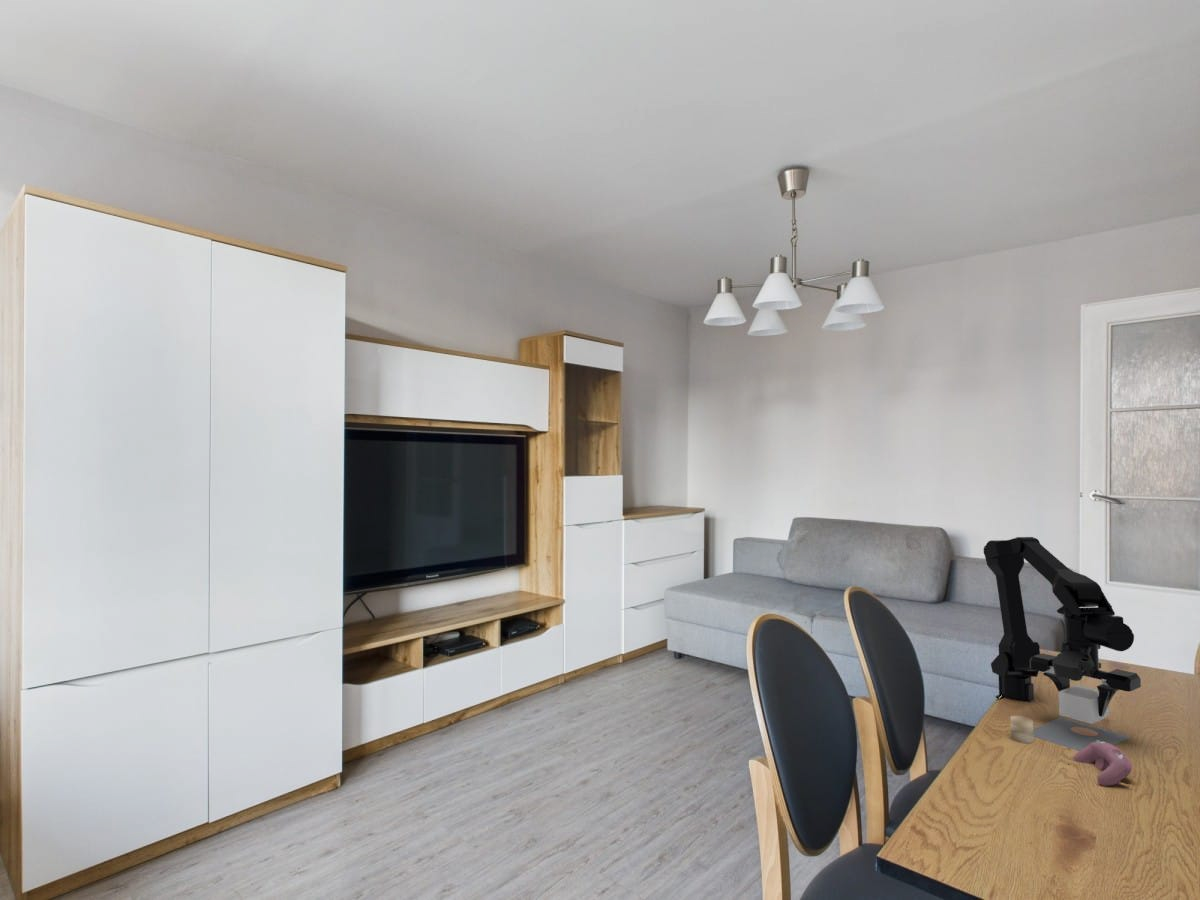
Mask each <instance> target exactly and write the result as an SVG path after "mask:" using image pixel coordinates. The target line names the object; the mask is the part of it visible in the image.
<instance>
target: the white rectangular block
mask: <svg viewBox="0 0 1200 900" xmlns="http://www.w3.org/2000/svg"><path fill="white" fill-rule="evenodd" d="M1098 707H1099V691H1098V689H1096V688H1095V689H1094V688H1090V687H1086V686H1081V685H1078V684H1074V685H1071V686H1070V687H1069V688H1067V689H1064V690H1061V691H1058V709H1059V710H1058V711H1059V712H1058V713H1059V714H1058V715H1059V716H1061V717H1064V718H1068V719H1069V718H1070V719H1071V720H1075V721H1078V722H1082V723H1086V724H1087V723H1088V724H1089V725H1090V724H1091V725H1093V724H1095V723H1097V722H1099V721H1101V720H1103V719H1105V718H1108V717H1109V716H1110V715H1109V714H1110V712H1109V706H1108V707H1107V709H1106V711H1105V714H1104V716H1102V717H1101V716H1099V710H1098Z"/></svg>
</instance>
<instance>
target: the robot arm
mask: <svg viewBox="0 0 1200 900" xmlns="http://www.w3.org/2000/svg"><path fill="white" fill-rule="evenodd" d="M983 554H984V557H985V558H984V559H985V561H986V565H987V567H988V568H989V570H991V571H992V573H993V575H994V576H995V580H996V586H997V593H998V601H999V607H1000V608H999V609H1000V614H1001V620H1002V621H1001V622H1002V627H1003V628H1002V629H1003V635H1002V637H1001V640H1000V642H999V643H998V654H997V656H995V658H994V659H993V660H992V661H991V663H990V667H991V670H992V673H993V674H995V675H997V676H998V694H997V695H995V698H996V699H998V698H999V697H1000V696H1001V695H1002V697H1001V698H1000V699H999V700H1003V699H1009V700H1013V701H1019V702H1027V703H1030V702H1032V701H1033V702H1034V701H1035V690H1034V689H1035V688H1034V686H1035V685H1034V683H1032V678H1033V677H1035V678H1038V677H1039V676H1038V675H1039V672H1042V673H1043V675H1044V676H1045V677H1048V678H1049V679H1050V680H1051V681H1052V682H1053V685H1055V687H1056V689H1057V691H1058V692H1059V691H1061V690H1064V689H1067V688H1069V687H1071V684H1070V683H1071V681H1074V682H1079V681H1081V680H1082V679H1083V677H1087V678H1091V679H1092V678H1093V679H1096V680H1101V684H1100V685H1097V686H1096V688H1097V690H1098V691H1099V707H1098V710H1099V716H1101V717H1102V716H1104V714H1105V711H1106V709H1107V707H1109V705H1110V703H1111V701H1112V699H1113V697H1114V696H1115V694H1116V693H1117V692H1118V691H1123V692H1133V691H1135V690H1137V689H1139V688H1142V687H1141V686H1142V684H1141V678H1140V676H1139V674H1138V673H1137V672H1132V671H1128V670H1123V669H1118V668H1117V669H1113V670H1111V671H1106V670H1105V671H1104V670H1100V669H1101V668H1102V662H1100V661H1099V650H1100V649H1101V648H1102V647H1104V648H1108V649H1110V650H1113V651H1116V652H1125V651H1127V650H1129V649H1130V648H1131V647H1132V645H1133V643H1134V641H1135V634H1134V633H1133V631H1132V629H1131V628H1130V626H1129V625H1128V624H1126V623H1124V618H1123V616H1120V615H1115V613H1116V612H1115V611H1114V609H1113V606H1112V605H1111V603H1110V602H1109V600H1108V599H1107V597H1106V596H1105V593H1104V592H1103V590H1102V587H1101V586H1100V584H1098V582H1097V581H1095V580H1094V579H1091V578H1090V577H1088V576H1086V575H1085V574H1081V573H1078V572H1077V571H1073V570H1071V568H1069V567H1068V566H1066V565H1065V564H1064V563H1063V562H1062V561H1061V560H1059V559H1058V558H1057V557H1056V556H1055V555H1053V553H1052V552H1050V551H1049V550H1048V549H1047V548H1045V547H1044V546H1043V544H1041V543H1040V541H1039V539H1038V538H1036V537H1033V536H1017V537H1015V538H1014V537H1013V538H1011V539H1001V540H1000V539H999V540H997V539H996V540H995V539H993V540H989V541H987V543H986V544H985V545H984V547H983ZM1025 561H1026V562H1027V563H1029V564H1030V566H1031V567H1033V568H1034V569H1035V570H1036V571H1037V572H1038V573H1039V574H1040V575H1042V577H1044V578H1045V579H1046V581H1048V582H1049V584H1050V585H1051V590H1052V593H1053V595H1054V596H1055V597H1056V599H1057V600H1058V601H1059V603H1060V604H1061V605H1062V606H1061V607H1059V608H1058V609H1056V612H1057V613H1058V614H1060V615H1064V619H1063V620H1064V642H1062V645H1061V651H1060V652H1059V653H1058V654H1057V655H1052V654H1047V653H1043V652H1042V653H1041V651H1040V650H1041V649H1040V647H1041V646H1040V645H1039V643H1038V641H1034V640H1033V639H1032V638H1031V636H1030V635H1029V634H1028V629H1027V628H1028V627H1027V622H1026V615H1025V609H1024V601H1023V595H1022V590H1021V589H1022V588H1021V582H1020V581H1021V580H1020V574H1021V571H1022V570H1023V568H1024V565H1025Z"/></svg>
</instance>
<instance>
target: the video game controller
mask: <svg viewBox="0 0 1200 900" xmlns="http://www.w3.org/2000/svg"><path fill="white" fill-rule="evenodd" d="M1073 761H1074V762H1076V763H1077V762H1078V763H1087V764H1092V763H1094V766H1095V767H1096V768H1097V769H1099V770H1101V772H1099V775H1097V782H1098V784H1099V785H1101V786H1102V785H1103V787H1106V786H1108V787H1109V786H1114V785H1116V784H1117V783H1119V782H1121V781H1122V780H1123V779H1124V778H1126V777H1127V776H1130V774H1131V772H1132V770H1133V764H1132V761H1130V760H1129V758H1127V756H1126V754H1125V753H1124V751H1123V750H1122V749H1120V748H1119V747H1117V746H1116V745H1111V744H1109V743H1105V742H1100V741H1099V740H1097V741H1096V742H1092V743H1091V744H1090V745H1088V746H1087V747H1086V748H1084V749H1083V750H1081V751H1078V752H1077V753H1075V754H1074V756H1073Z"/></svg>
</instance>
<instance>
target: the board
mask: <svg viewBox="0 0 1200 900" xmlns="http://www.w3.org/2000/svg"><path fill="white" fill-rule="evenodd" d="M1033 731H1034V738H1037V739H1040V740H1043V741H1045V742H1049V743H1051V744H1055V745H1058V746H1062V747H1066V748H1068V749H1072V750H1075V751H1078V752H1079V751H1081V750H1083V749H1084V748H1086V747H1087V746H1088V745H1090V744H1091V743H1092V742H1096V741H1097V740H1099V741H1100V742H1105V743H1109V744H1111V745H1114V746H1116V745H1118V744H1119V743H1122V742H1124V741H1126V740H1127V739H1130V738H1131V737H1132V736H1130V735H1126V734H1123V733H1119V732H1117V731H1116V732H1115V731H1112V730H1110V729H1105V728H1101V727H1098V726H1094V725H1093V724H1091V725H1090V724H1089V723H1088V724H1087V723H1085V722H1082V721H1078V720H1075V719H1071V718H1070V719H1069V718H1068V717H1064V716H1060V717H1058V718H1056V719H1054V720H1052V721H1049V722H1046V723H1044V724H1042V725H1040V726H1037V727H1033Z"/></svg>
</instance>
